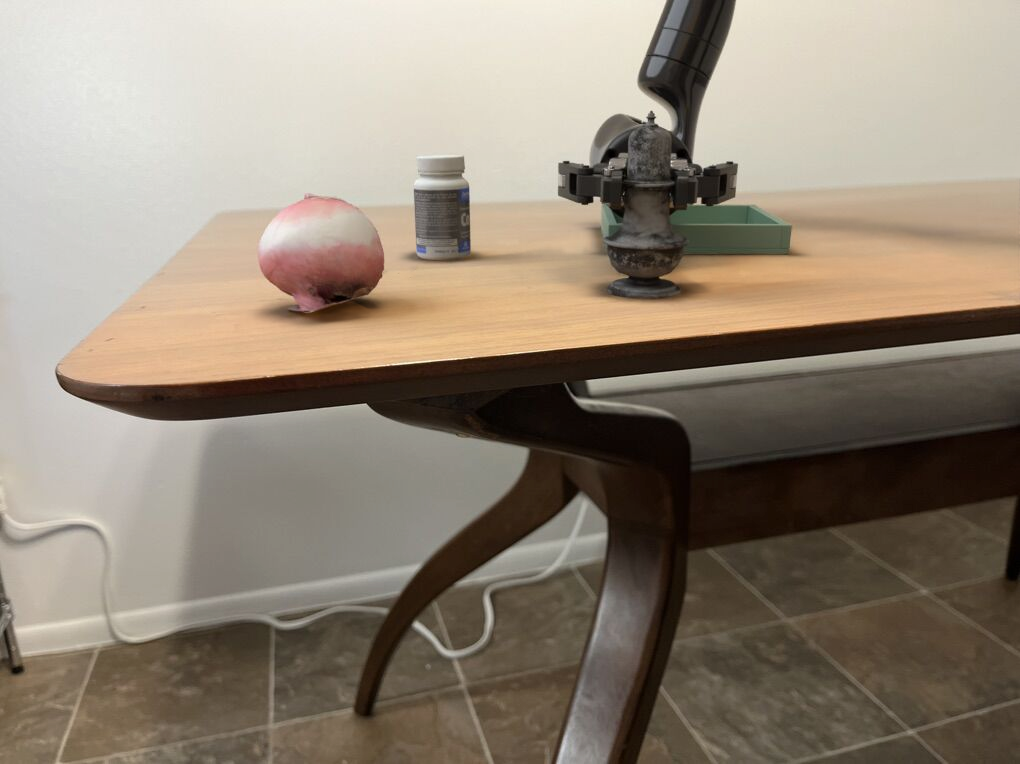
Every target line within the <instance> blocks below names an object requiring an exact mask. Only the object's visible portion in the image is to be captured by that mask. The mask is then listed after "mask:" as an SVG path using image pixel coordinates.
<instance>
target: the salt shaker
mask: <svg viewBox="0 0 1020 764" xmlns="http://www.w3.org/2000/svg"><path fill="white" fill-rule="evenodd" d="M645 118H646V119H647V121H646V122H647V124H644V126H643V127H640V128H637V129H636V130H634V131H633V132H632V133H631V135H630V137H629V143H628V169H627V179H626V180H624V181H623V182H622V185H624V187H625V188H626V192H625V213H624V217H623V221H622V224H621V228H620V229H619V230H618V231H617V232H616V233H614V234H613V235H609V236H606V237H604V238H602V243H603V244H604V245H605V244H606V245H607V249H606V254H607V257H608V259H609V262H610V265H611V266H612V267H613V268H614V270H615V271H616V272H617V273H619V274H620V275H623V276H626V277H622V278H617V279H615V280H612V282H611V283H608V284H607V285H606V286H605V292H607V293H608V294H609V295H613V296H616V297H621V298H627V299H637V300H638V299H639V300H659V299H667V298H673V297H677V296H679V295H680V294H681V293H682V288H681V287H680V285H677V283H675V282H674V281H672V280H669V279H666V278H661V277H664V276H667V275H670V274H672V272H674V271H675V270H676V269H677V268H678V267H679V266H680V263H681V262H682V259H683V256H684V255H685V254H684V246H686V245H687V244H688V243H689V240H688V239H687V238H685V237H683V236H679V235H678V234H677V233H675V231H674V230H673V229H672V226H671V222H670V216H669V204H670V188H671V187H672V186H674V185H675V182H673V181H672V180H670V165H671V146H672V138H671V135H670V133H669V132H668V131H669V130H668V129H666V128H664V127H662V126H660V125H659V124H658V123H655V119H657V116H656V114H655V113H654V110H650V111H649V113H647V116H645ZM659 126H660V127H659ZM667 130H668V131H667ZM606 245H605V246H606Z"/></svg>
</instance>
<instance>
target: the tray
mask: <svg viewBox="0 0 1020 764" xmlns="http://www.w3.org/2000/svg"><path fill="white" fill-rule="evenodd" d="M600 213H601V214H600V216H601V217H600V230H601V234H602V236H603V238H604V237H606V236H609V235H613V234H614V233H616V232H617V231H618V230H619V229H620V228H621V224H622V221H623V218H621V217H619V216H618V215H616V214H615V213H614V212H613V211H612V210H611V209H610V208H609V207H608V206H606V205H604V204H601V211H600ZM670 222H671V226H672V229H673V230H674V231H675V233H677V234H678V235H679V236H683V237H685V238H687V239H688V240H689V243H688V244H687V245H686V246H684V254H683V255H789V254H790V247H791V240H792V239H791V237H792V231H793V229H792V228H793V225H792V224H790V223H789V222H787V221H785V220H784V219H781V218H780V217H778V216H776V215H775V214H772V213H770V212H769V211H767V210H765V209H764V208H762V207H759V206H757V205H756V204H716V205H713V206H706V204H693V205H688V207H687V209H686V210H677V211H675V212H674V213H673V214H672V215H670ZM603 238H602V239H603ZM604 245H605V248H606V250H607V245H606V244H605V243H604Z"/></svg>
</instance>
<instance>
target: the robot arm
mask: <svg viewBox="0 0 1020 764" xmlns="http://www.w3.org/2000/svg"><path fill="white" fill-rule="evenodd" d="M736 5H737V0H665V4H664V6H663V9H662V11H661V14H660V16H659V19H658V22H657V24H656V27H655V30H654V32H653V34H652V37H651V39H650V42H649V45H648V47H647V50H646V52H645V55H644V57H643V60H642V63H641V65H640V68H639V71H638V73H637V78H636V84H637V88H638V89H639V90H640V91H641V93H642V94H644V95H645V96H646V97H648V98H649V99H651V100H652V101H654V102H655V103H657V105H660V106H661V107H662V108H663V109H664V110H665V111H666V112H667V113H668V115H669V118H670V122H671V128H670V130H668V129H666V130H667V131H668V132H669V133H670V135H671V138H672V146H671V165H670V180H672V181H673V182H675V185H674V186H672V187H671V188H670V204H669V216H670V215H672V214H673V213H674V212H675V211H677V210H686V209H687V207H688V205H696V204H697V203H698V199H700V205H706V206H713V205H721V204H722V203H724V202H727V201H729V200H732V199H735V198H736V196H737V195H736V194H737V193H736V192H737V183H738V169H739V163H736V162H734V161H731V160H730V161H729V160H728V161H726V162H722V163H721V162H720V163H712V164H711V165H708V166H705V167H702V166H701V165H700V164H698V163H694V162H693V161H694V154H695V143H696V136H697V129H698V123H699V118H700V113H701V109H702V105H703V102H704V99H705V95H706V92H707V90H708V87H709V86H710V85H709V84H710V81H712V77H713V75H714V72H715V70H716V68H717V66H718V65H717V64H718V63H719V61H720V58H721V56H722V54H723V53H722V52H723V51H724V48H725V45H726V43H727V39H728V37H729V34H730V30H731V27H732V23H733V19H734V15H735V10H736ZM647 122H648V121H645V120H642V119H641V118H636V117H635V116H632V115H629V114H625V113H615V114H613V115H611V116H609V117H608V118H606V119H605V120H604V122H602V124H601V125H600V126H599V128H598V129H597V130H596V132H595V134H594V136H593V139H592V142H591V144H590V148H589V155H588V156H589V157H588V161H589V162H588V163H589V165H588V164H584V163H575V162H570V160H563V161H562V162H558V163H557V172H558V173H557V196H558V197H560V198H564V199H566V200H568V201H571V202H574V203H576V204H581V206H588V205H589V204H593V203H594V198H599V203H601V205H606V206H608V207H609V208H610V209H611V210H612V211H613V212H614V213H615V214H616V215H618V216H619V217H621V218H623V217H624V213H625V192H626V188H625V187H624V185H622V182H623V181H624V180H626V179H627V169H628V143H629V137H630V135H631V133H632V132H633V131H634V130H636V129H637V128H640V127H643V126H644V124H647ZM658 126H659V127H661V126H660V125H658Z"/></svg>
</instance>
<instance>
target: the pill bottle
mask: <svg viewBox="0 0 1020 764" xmlns="http://www.w3.org/2000/svg"><path fill="white" fill-rule="evenodd" d="M465 170H466V165H465V155H461V154H434V155H430V154H429V155H420V156H416V171H417V172H416V173H417V175H419V178H418V179H416V180H415V181H414V183H413V200H414V201H413V205H414V227H415V229H414V231H415V245H416V246H415V247H416V249H415V251H416V256H417V257H419V258H420V259H422V260H429V261H452V260H453V261H454V260H461V259H464V258H468V257H469V256H470V255H471V250H472V248H471V247H472V246H471V245H472V244H471V241H472V240H471V205H470V202H471V200H470V199H471V198H470V197H471V196H470V195H471V194H470V183H469V181H468V180H467V179H466V178H465V177H463V174H464V173H465Z"/></svg>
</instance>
